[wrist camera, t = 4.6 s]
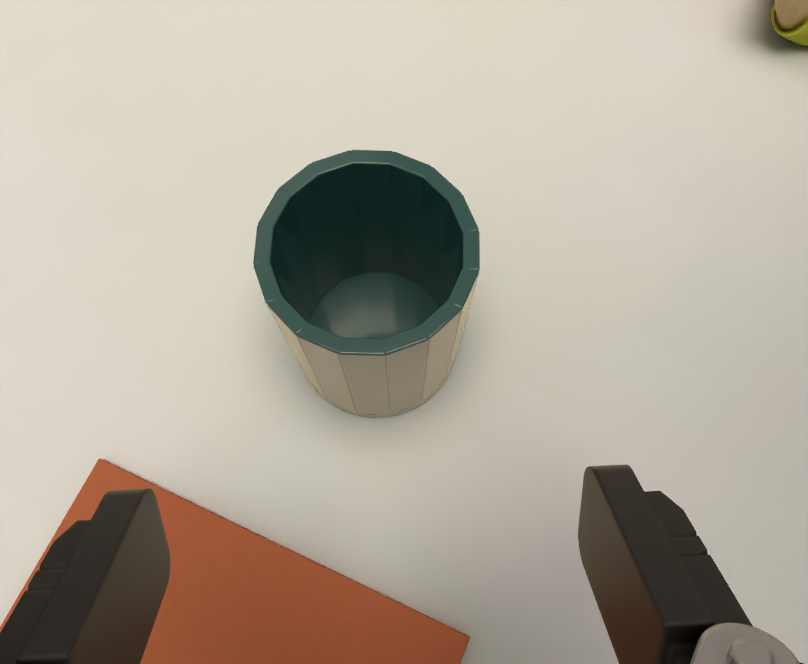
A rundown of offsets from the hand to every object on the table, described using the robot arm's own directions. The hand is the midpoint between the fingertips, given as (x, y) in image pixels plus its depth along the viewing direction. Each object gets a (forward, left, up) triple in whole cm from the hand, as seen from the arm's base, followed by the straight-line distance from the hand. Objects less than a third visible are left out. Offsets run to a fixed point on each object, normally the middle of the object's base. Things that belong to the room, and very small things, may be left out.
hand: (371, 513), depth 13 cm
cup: (-6, -3, -11) cm, 13 cm away
